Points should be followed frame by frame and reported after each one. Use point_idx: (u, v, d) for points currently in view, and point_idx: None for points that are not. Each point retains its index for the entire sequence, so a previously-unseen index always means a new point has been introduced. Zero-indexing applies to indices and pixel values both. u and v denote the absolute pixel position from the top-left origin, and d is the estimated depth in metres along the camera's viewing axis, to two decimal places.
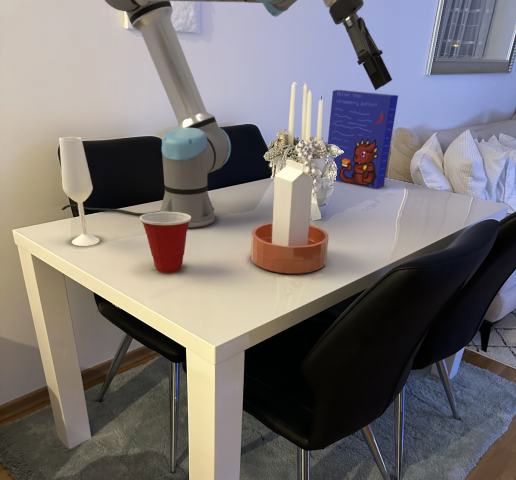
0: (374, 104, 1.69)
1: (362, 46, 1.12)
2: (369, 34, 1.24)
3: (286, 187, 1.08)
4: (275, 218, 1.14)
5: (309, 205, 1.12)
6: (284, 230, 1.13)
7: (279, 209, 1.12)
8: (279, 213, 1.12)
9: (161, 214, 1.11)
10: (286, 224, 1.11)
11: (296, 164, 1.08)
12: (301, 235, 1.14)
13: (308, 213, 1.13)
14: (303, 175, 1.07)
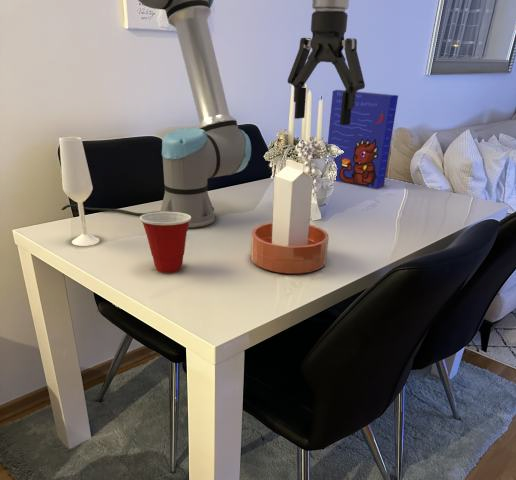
0: (374, 104, 1.69)
1: (361, 77, 1.06)
2: None
3: (286, 187, 1.08)
4: (275, 218, 1.14)
5: (309, 205, 1.12)
6: (284, 230, 1.13)
7: (279, 209, 1.12)
8: (279, 213, 1.12)
9: (161, 214, 1.11)
10: (286, 224, 1.11)
11: (296, 164, 1.08)
12: (301, 235, 1.14)
13: (308, 213, 1.13)
14: (303, 175, 1.07)
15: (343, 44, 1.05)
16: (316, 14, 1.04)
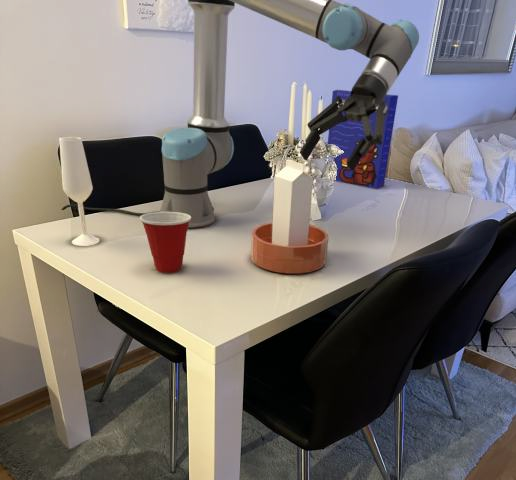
0: None
1: (382, 135, 1.10)
2: None
3: (286, 187, 1.08)
4: (275, 218, 1.14)
5: (309, 205, 1.12)
6: (284, 230, 1.13)
7: (279, 209, 1.12)
8: (279, 213, 1.12)
9: (161, 214, 1.11)
10: (286, 224, 1.11)
11: (296, 164, 1.08)
12: (301, 235, 1.14)
13: (308, 213, 1.13)
14: (303, 175, 1.07)
15: (376, 107, 1.12)
16: (364, 75, 1.13)
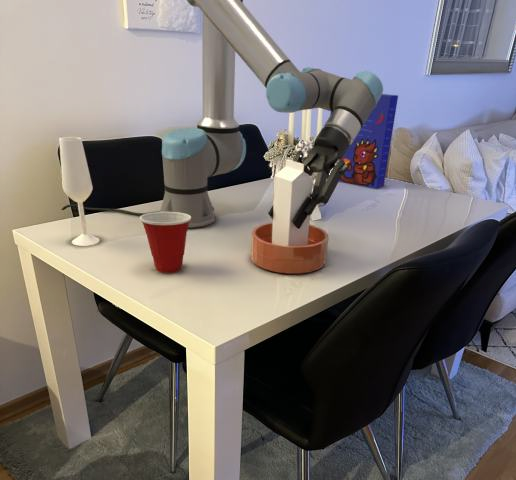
0: None
1: (329, 195, 1.10)
2: None
3: (286, 186, 1.08)
4: (274, 218, 1.14)
5: None
6: (284, 230, 1.13)
7: (279, 209, 1.12)
8: (279, 213, 1.12)
9: (161, 214, 1.11)
10: (286, 223, 1.11)
11: (295, 164, 1.08)
12: (301, 235, 1.14)
13: None
14: (303, 174, 1.07)
15: (336, 162, 1.11)
16: (327, 127, 1.11)
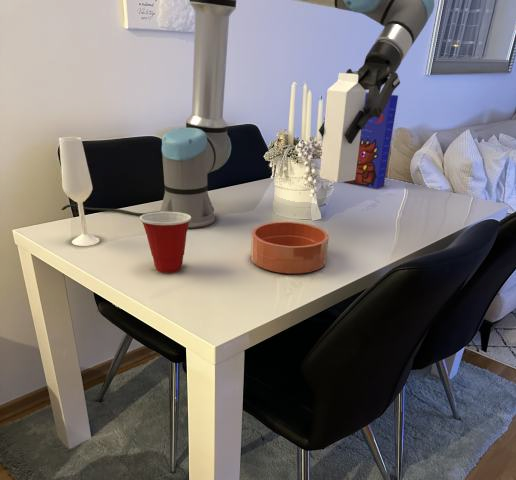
0: None
1: (382, 108, 1.10)
2: None
3: (340, 99, 1.08)
4: (325, 135, 1.14)
5: None
6: (336, 146, 1.13)
7: (331, 124, 1.12)
8: (331, 129, 1.12)
9: (160, 214, 1.11)
10: (338, 138, 1.11)
11: (349, 76, 1.08)
12: (352, 152, 1.14)
13: None
14: (356, 86, 1.07)
15: (389, 76, 1.11)
16: (379, 42, 1.11)
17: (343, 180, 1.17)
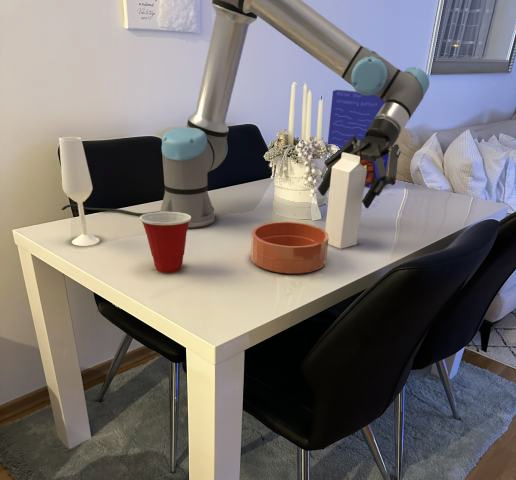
0: (374, 104, 1.69)
1: (395, 176, 1.19)
2: None
3: (343, 177, 1.19)
4: (329, 206, 1.25)
5: (362, 194, 1.23)
6: (339, 217, 1.24)
7: (335, 197, 1.23)
8: (334, 201, 1.23)
9: (161, 214, 1.11)
10: (341, 211, 1.23)
11: (352, 156, 1.19)
12: (354, 221, 1.25)
13: (361, 201, 1.24)
14: (358, 166, 1.19)
15: (390, 149, 1.21)
16: (379, 119, 1.22)
17: (345, 246, 1.28)
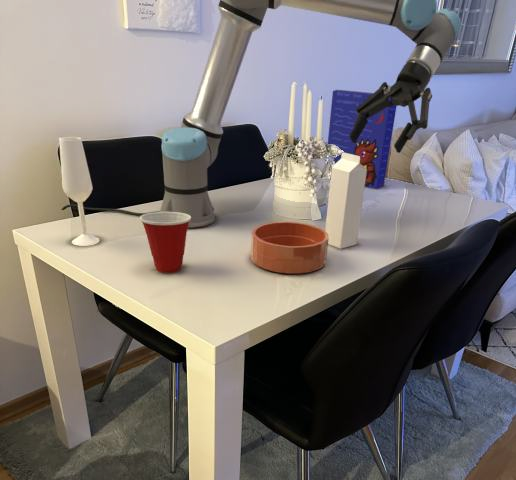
0: None
1: (427, 119, 1.21)
2: None
3: (343, 177, 1.19)
4: (329, 206, 1.25)
5: (362, 194, 1.23)
6: (339, 217, 1.24)
7: (335, 197, 1.23)
8: (334, 201, 1.23)
9: (161, 214, 1.11)
10: (341, 211, 1.23)
11: (352, 156, 1.19)
12: (354, 221, 1.25)
13: (361, 201, 1.24)
14: (358, 166, 1.19)
15: (421, 93, 1.23)
16: (410, 63, 1.23)
17: (345, 246, 1.28)
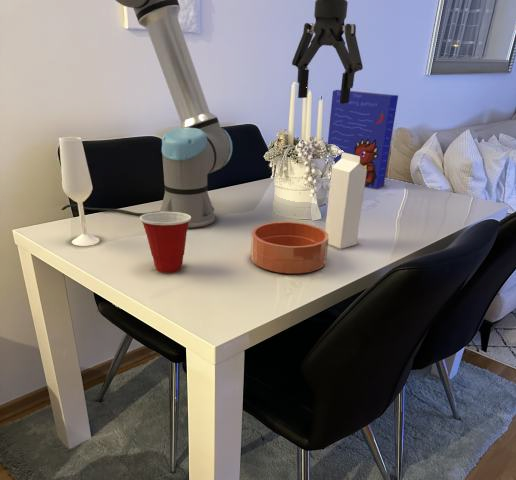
0: (374, 104, 1.69)
1: (359, 60, 1.17)
2: None
3: (343, 177, 1.19)
4: (329, 206, 1.25)
5: (362, 194, 1.23)
6: (339, 217, 1.24)
7: (335, 197, 1.23)
8: (334, 201, 1.23)
9: (161, 214, 1.11)
10: (341, 211, 1.23)
11: (352, 156, 1.19)
12: (354, 221, 1.25)
13: (361, 201, 1.24)
14: (358, 166, 1.19)
15: (343, 29, 1.16)
16: (319, 1, 1.15)
17: (345, 246, 1.28)
